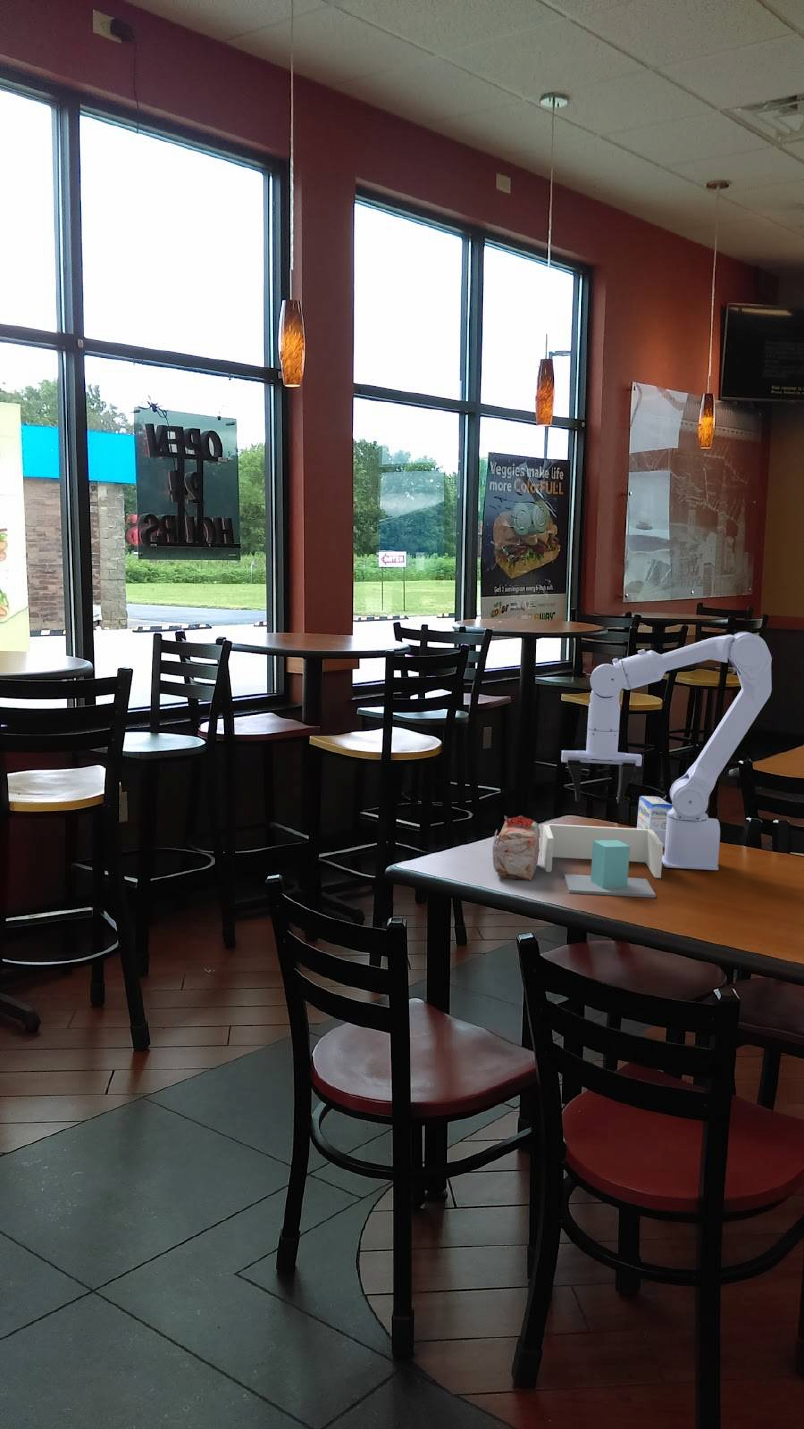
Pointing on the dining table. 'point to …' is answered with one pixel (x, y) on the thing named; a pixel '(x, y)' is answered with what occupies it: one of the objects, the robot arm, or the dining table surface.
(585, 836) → the open folding screen
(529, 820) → the food item
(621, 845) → the teal block
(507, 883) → the dining table surface
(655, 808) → the medicine box
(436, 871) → the dining table surface
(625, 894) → the slate mat
